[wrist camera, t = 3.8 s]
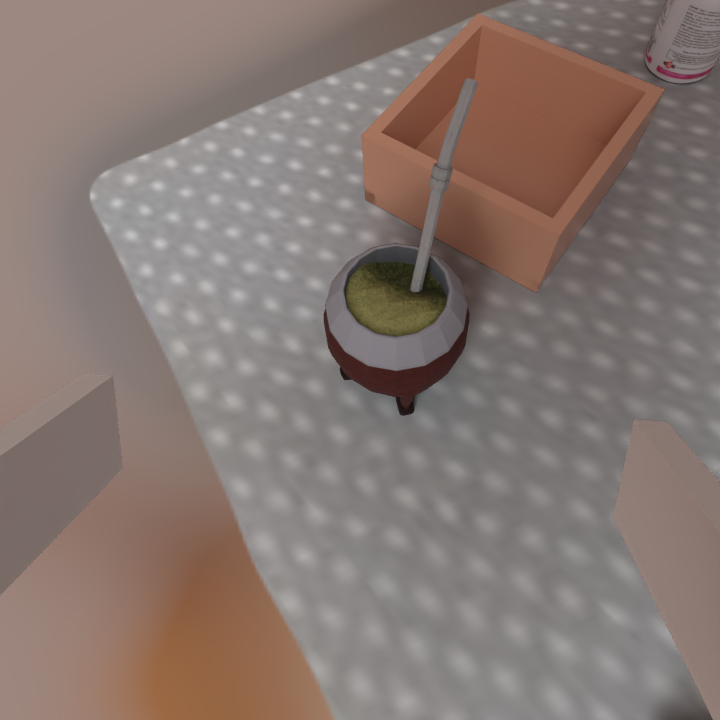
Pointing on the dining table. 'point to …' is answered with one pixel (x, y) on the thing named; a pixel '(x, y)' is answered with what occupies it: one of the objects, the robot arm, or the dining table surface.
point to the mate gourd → (402, 301)
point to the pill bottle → (685, 41)
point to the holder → (508, 146)
